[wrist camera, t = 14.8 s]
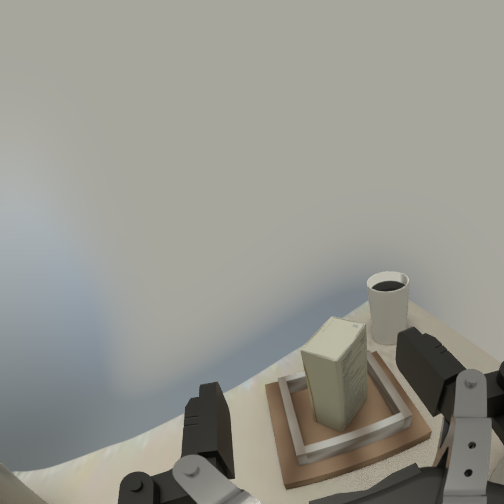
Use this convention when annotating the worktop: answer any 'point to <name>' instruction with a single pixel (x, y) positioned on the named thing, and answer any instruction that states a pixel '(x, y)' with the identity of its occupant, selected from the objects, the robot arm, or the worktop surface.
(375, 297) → the white coffee cup
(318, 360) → the skincare box
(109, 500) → the worktop surface
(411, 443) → the socket board
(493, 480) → the toilet paper roll
